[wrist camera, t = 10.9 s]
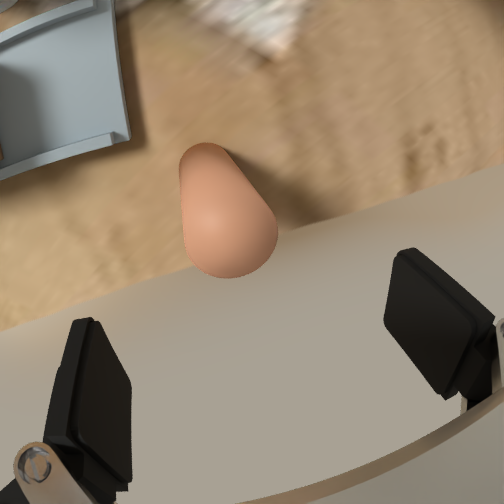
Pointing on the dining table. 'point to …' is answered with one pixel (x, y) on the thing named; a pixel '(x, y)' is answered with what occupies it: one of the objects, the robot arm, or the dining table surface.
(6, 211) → the dining table surface
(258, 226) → the dowel
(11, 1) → the french press
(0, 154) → the square wooden box
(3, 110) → the rail
